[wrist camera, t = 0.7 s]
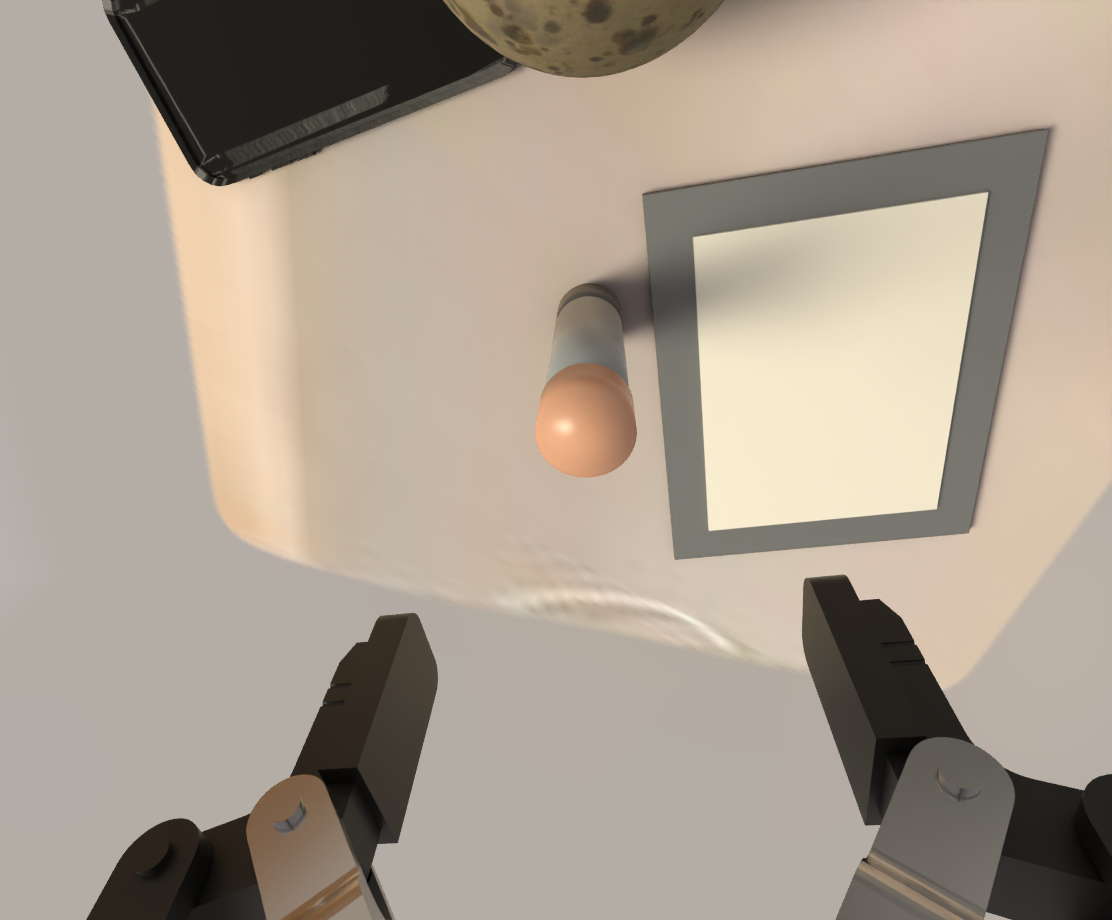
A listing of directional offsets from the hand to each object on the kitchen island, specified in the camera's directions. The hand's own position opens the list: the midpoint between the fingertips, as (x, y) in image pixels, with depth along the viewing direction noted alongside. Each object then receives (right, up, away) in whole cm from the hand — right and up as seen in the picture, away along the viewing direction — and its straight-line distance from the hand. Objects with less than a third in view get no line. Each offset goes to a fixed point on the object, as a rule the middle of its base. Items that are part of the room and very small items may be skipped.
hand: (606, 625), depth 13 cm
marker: (+1, +10, +17) cm, 20 cm away
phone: (-10, +21, +12) cm, 26 cm away
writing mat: (+12, +7, +18) cm, 23 cm away
